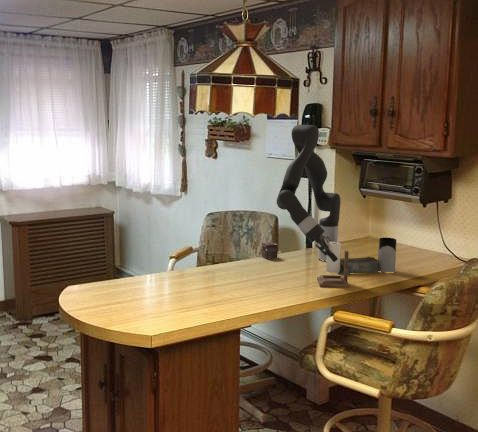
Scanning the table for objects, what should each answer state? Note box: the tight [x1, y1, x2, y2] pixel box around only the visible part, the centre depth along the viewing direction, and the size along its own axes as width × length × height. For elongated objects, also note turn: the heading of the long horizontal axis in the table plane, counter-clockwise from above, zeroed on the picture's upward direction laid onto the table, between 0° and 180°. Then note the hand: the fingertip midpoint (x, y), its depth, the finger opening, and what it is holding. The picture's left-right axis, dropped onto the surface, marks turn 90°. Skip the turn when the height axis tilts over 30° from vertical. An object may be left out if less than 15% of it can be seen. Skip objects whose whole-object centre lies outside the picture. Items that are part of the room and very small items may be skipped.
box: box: [261, 241, 279, 260], centre depth 291 cm, size 6×6×7 cm
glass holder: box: [377, 237, 397, 272], centre depth 270 cm, size 9×14×15 cm, turn 166°
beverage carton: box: [337, 256, 379, 275], centre depth 266 cm, size 8×19×7 cm, turn 97°
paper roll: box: [325, 242, 342, 274], centre depth 245 cm, size 6×6×12 cm
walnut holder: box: [316, 249, 350, 289], centre depth 246 cm, size 12×12×14 cm
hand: (337, 258), depth 245 cm, fingers closed on paper roll, 5 cm apart
